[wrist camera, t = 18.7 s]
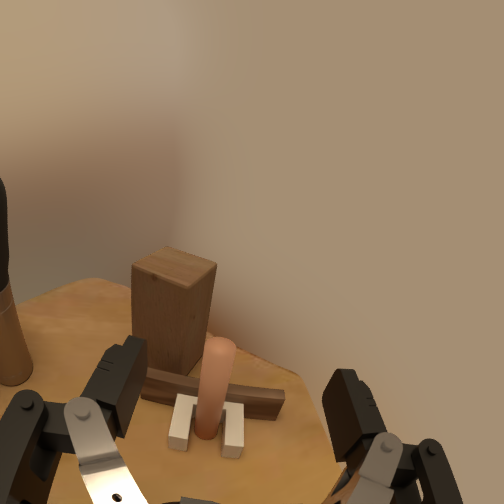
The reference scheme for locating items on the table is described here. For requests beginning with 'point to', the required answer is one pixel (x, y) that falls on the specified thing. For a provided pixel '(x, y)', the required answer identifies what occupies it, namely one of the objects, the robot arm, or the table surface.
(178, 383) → the wall
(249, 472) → the table surface
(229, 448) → the notched block
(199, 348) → the wooden block
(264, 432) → the table surface
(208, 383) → the dowel
